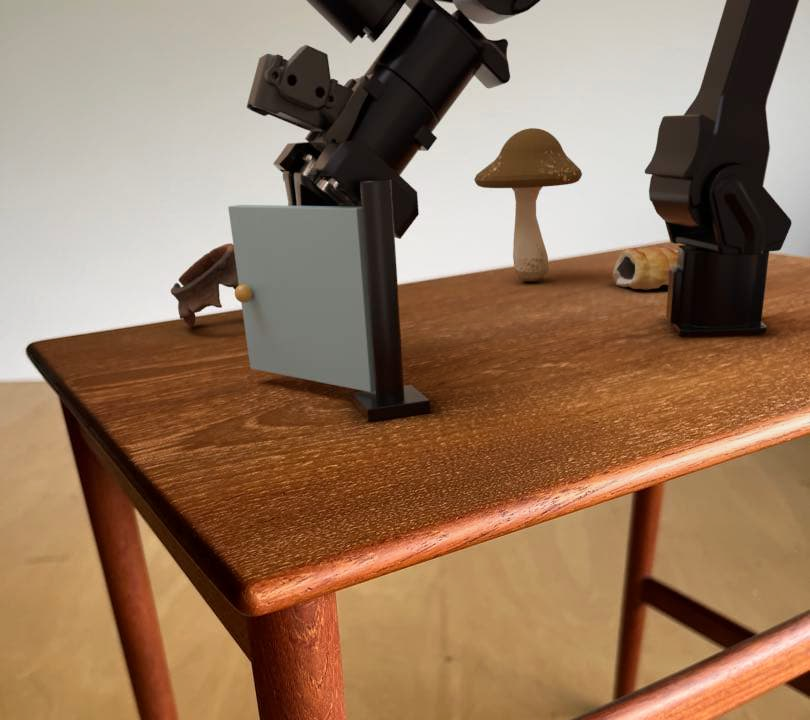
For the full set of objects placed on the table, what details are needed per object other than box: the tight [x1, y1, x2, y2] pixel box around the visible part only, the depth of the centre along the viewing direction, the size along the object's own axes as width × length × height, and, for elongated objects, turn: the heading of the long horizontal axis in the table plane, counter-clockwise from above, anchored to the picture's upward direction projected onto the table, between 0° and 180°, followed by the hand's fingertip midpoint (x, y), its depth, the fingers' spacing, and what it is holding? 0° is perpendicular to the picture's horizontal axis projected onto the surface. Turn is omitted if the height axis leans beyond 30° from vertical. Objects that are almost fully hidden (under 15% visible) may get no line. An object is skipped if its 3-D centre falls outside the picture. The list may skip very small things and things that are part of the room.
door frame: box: [351, 179, 431, 422], centre depth 53 cm, size 4×4×14 cm
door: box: [227, 204, 375, 392], centre depth 57 cm, size 12×2×11 cm, turn 49°
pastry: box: [612, 245, 678, 291], centre depth 88 cm, size 9×7×4 cm
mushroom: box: [473, 127, 583, 283], centre depth 92 cm, size 9×11×15 cm
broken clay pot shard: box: [170, 243, 239, 328], centre depth 83 cm, size 12×10×8 cm
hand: (266, 285), depth 61 cm, fingers closed
